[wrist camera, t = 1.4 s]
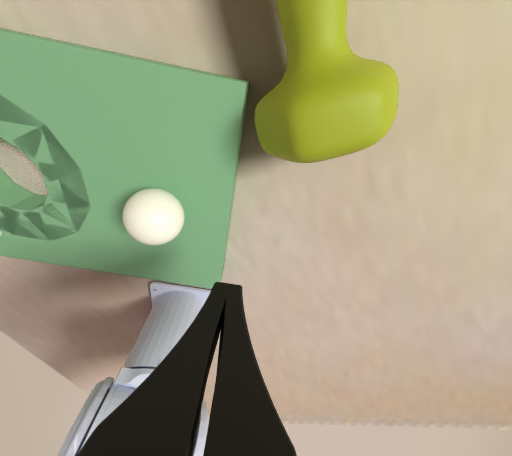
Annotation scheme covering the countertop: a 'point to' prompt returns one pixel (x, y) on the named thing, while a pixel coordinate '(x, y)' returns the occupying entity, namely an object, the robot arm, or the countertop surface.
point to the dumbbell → (324, 89)
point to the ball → (153, 216)
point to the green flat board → (117, 157)
